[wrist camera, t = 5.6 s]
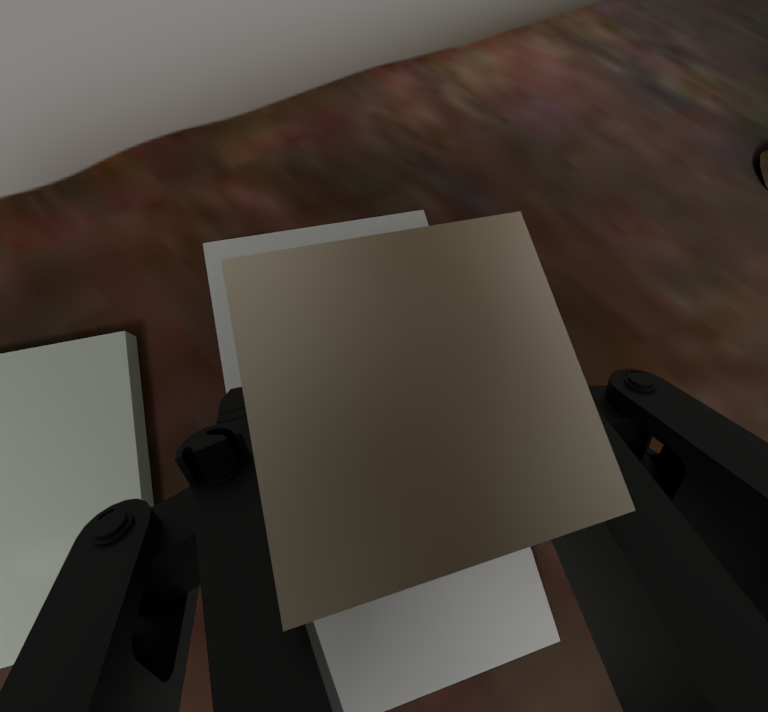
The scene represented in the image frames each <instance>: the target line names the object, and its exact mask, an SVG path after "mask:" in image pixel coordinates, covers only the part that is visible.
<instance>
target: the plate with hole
mask: <svg viewBox="0 0 768 712" xmlns="http://www.w3.org/2000/svg"><path fill="white" fill-rule="evenodd" d="M426 226H428V222H427V219H426V216H425V213H424V210H419V211H412V212H406V213H399V214H392V215H386V216H379V217H373V218H366V219H359V220H353V221H346V222H340V223H333V224H326V225H320V226H313V227H307V228H300V229H294V230H287V231H280V232H274V233H267V234H261V235H254V236H247V237H241V238H234V239H228V240H221V241H214V242H208V243H203V249H204V255H205V262H206V268H207V274H208V281H209V287H210V293H211V300H212V306H213V312H214V319H215V325H216V331H217V338H218V344H219V350H220V357H221V363H222V370H223V376H224V382H225V389H226V394H227V393H228V391H229V390H230V389H233V388H237V387H242V384H241V378H240V372H239V366H238V360H237V354H236V348H235V342H234V336H233V330H232V324H231V318H230V312H229V306H228V300H227V294H226V288H225V282H224V276H223V270H222V264H221V259H227V258H233V257H240V256H246V255H252V254H258V253H264V252H271V251H277V250H283V249H289V248H295V247H302V246H308V245H314V244H320V243H326V242H333V241H339V240H345V239H351V238H357V237H364V236H370V235H376V234H382V233H389V232H395V231H401V230H407V229H413V228H420V227H426ZM313 622H314V625H315V628H316V631H317V634H318V637H319V640H320V643H321V646H322V649H323V652H324V655H325V658H326V661H327V664H328V667H329V670H330V673H331V676H332V679H333V682H334V685H335V688H336V690H337V693H338V696H339V699H340V702H341V705H342V708H343V711H344V712H384V711H387V710H389V709H392V708H394V707H397V706H399V705H402V704H404V703H407V702H409V701H412V700H414V699H417V698H419V697H422V696H424V695H427V694H429V693H432V692H434V691H437V690H439V689H442V688H444V687H447V686H449V685H452V684H454V683H457V682H459V681H462V680H464V679H467V678H469V677H472V676H474V675H477V674H479V673H482V672H484V671H487V670H489V669H491V668H494V667H496V666H499V665H501V664H504V663H506V662H509V661H511V660H514V659H516V658H519V657H521V656H524V655H526V654H529V653H531V652H534V651H536V650H539V649H541V648H544V647H546V646H549V645H551V644H554V643H556V642H559V641H560V639H559V635H558V632H557V629H556V626H555V623H554V620H553V616H552V613H551V610H550V607H549V604H548V601H547V598H546V594H545V591H544V588H543V585H542V582H541V579H540V575H539V572H538V569H537V566H536V563H535V560H534V557H533V553H532V550H531V547H528V548H525V549H522V550H519V551H516V552H513V553H511V554H508V555H505V556H502V557H499V558H496V559H493V560H490V561H487V562H484V563H481V564H478V565H476V566H473V567H470V568H467V569H464V570H461V571H458V572H455V573H452V574H449V575H446V576H444V577H441V578H438V579H435V580H432V581H429V582H426V583H423V584H420V585H417V586H414V587H411V588H409V589H406V590H403V591H400V592H397V593H394V594H391V595H388V596H385V597H382V598H379V599H377V600H374V601H371V602H368V603H365V604H362V605H359V606H356V607H353V608H350V609H347V610H344V611H342V612H339V613H336V614H333V615H330V616H327V617H324V618H321V619H318V620H315V621H313Z"/></svg>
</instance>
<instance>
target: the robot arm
mask: <svg viewBox="0 0 768 712" xmlns="http://www.w3.org/2000/svg"><path fill="white" fill-rule="evenodd" d="M588 388H589V390H590V393H591V396H592V398H593V401H594V403H595V406H596V409H597V411H598V414H599V416H600V419H601V421H602V424H603V427H604V429H605V432H606V434H607V437H608V440H609V442H610V445H611V447H612V450H613V453H614V455H615V458H616V460H617V463H618V466H619V468H620V471H621V473H622V476H623V479H624V481H625V484H626V486H627V489H628V492H629V494H630V497H631V499H632V502H633V505H634V507H635V510H636V511H633V512H630V513H627V514H624V515H621V516H618V517H615V518H612V519H610V520H607V521H604V522H601V523H598V524H595V525H592V526H589V527H586V528H583V529H580V530H577V531H575V532H572V533H569V534H566V535H563V536H560V537H557V538H554V539H551V540H552V543H553V545H554V548H555V550H556V552H557V555H558V557H559V559H560V562H561V564H562V567H563V569H564V571H565V574H566V576H567V578H568V581H569V583H570V586H571V588H572V590H573V593H574V595H575V597H576V600H577V602H578V605H579V607H580V609H581V612H582V614H583V616H584V619H585V621H586V624H587V626H588V628H589V631H590V633H591V635H592V638H593V640H594V643H595V645H596V647H597V650H598V652H599V654H600V657H601V659H602V662H603V664H604V666H605V669H606V671H607V673H608V676H609V678H610V681H611V683H612V685H613V688H614V690H615V692H616V695H617V697H618V700H619V702H620V704H621V707H622V709H623V711H624V712H768V443H767V442H765V441H764V440H762V439H760V438H759V437H757V436H755V435H754V434H752V433H751V432H749V431H747V430H746V429H744V428H742V427H741V426H739V425H737V424H736V423H734V422H733V421H731V420H729V419H728V418H726V417H724V416H723V415H721V414H719V413H718V412H716V411H714V410H713V409H711V408H710V407H708V406H706V405H705V404H703V403H701V402H700V401H698V400H696V399H695V398H693V397H692V396H690V395H688V394H687V393H685V392H683V391H682V390H680V389H678V388H677V387H675V386H673V385H672V384H670V383H669V382H667V381H665V380H664V379H662V378H660V377H658V376H656V375H654V374H652V373H648V372H645V371H642V370H634V369H624V370H618V371H616V372H614V373H612V374H611V376H610V378H609V381H608V385H607V386H588ZM652 437H654V438H656V439H657V440H658V441H660V442H661V443H662V444H663V445H664V446H663V448H662V450H661V452H660V453H656V452H654V451H653V450H651V449H650V448H649V444H650V442H651V440H652ZM175 461H176V462H177V464H178V466H179V467H180V469H181V471H182V472H183V474H184V476H185V477H186V479H187V481H188V482H189V484H190V486H189V487H188V488H187V489H185V490H183V491H182V492H180V493H178V494H177V495H175V496H173V497H171V498H169V499H167V500H165V501H163V502H161V503H159V504H157V505H155V506H153V507H150V505H149V504H148V503H147V501H144V500H141V499H129V500H124V501H121V502H119V503H116V504H114V505H111V506H110V507H108V508H106V509H105V510H103V511H102V512H100V513H99V514H97V515H96V516H95V517H94V518H93V519H92V520H91V521H90V522H88V523H87V524H86V525H85V526H84V528H83V529H82V531H81V532H80V533H79V535H78V536H77V538H76V539H75V541H74V543H73V545H72V548H71V550H70V552H69V554H68V556H67V558H66V560H65V562H64V564H63V566H62V568H61V570H60V572H59V574H58V576H57V578H56V580H55V582H54V584H53V586H52V588H51V590H50V592H49V594H48V596H47V598H46V600H45V602H44V604H43V606H42V608H41V610H40V612H39V614H38V616H37V618H36V620H35V622H34V624H33V626H32V628H31V630H30V632H29V634H28V636H27V638H26V641H25V643H24V645H23V647H22V649H21V651H20V653H19V655H18V657H17V659H16V661H15V663H14V665H13V667H12V669H11V671H10V673H9V675H8V677H7V679H6V681H5V683H4V685H3V687H2V689H1V691H0V712H179V708H180V702H181V695H182V689H183V683H184V677H185V671H186V664H187V658H188V652H189V646H190V639H191V633H192V627H193V621H194V614H195V608H196V602H197V596H198V589H199V585H201V592H202V602H203V612H204V622H205V632H206V642H207V651H208V661H209V671H210V681H211V691H212V701H213V711H214V712H344V711H343V708H342V705H341V702H340V699H339V696H338V693H337V690H336V688H335V685H334V682H333V679H332V676H331V673H330V670H329V667H328V664H327V661H326V658H325V655H324V652H323V649H322V646H321V643H320V640H319V637H318V634H317V631H316V628H315V625H314V622H313V621H312V622H310V623H307V624H304V625H301V626H298V627H295V628H292V629H289V630H286V631H283V628H282V622H281V616H280V610H279V604H278V598H277V592H276V586H275V580H274V574H273V568H272V562H271V556H270V550H269V544H268V538H267V532H266V526H265V520H264V514H263V509H262V503H261V497H260V491H259V485H258V479H257V473H256V467H255V461H254V455H253V449H252V443H251V437H250V431H249V425H248V419H247V413H246V407H245V401H244V395H243V389H242V387H237V388H233V389H230V390H229V391H228V393H227V394H226V395H225V397H224V398H223V399H222V400H221V404H220V409H219V415H218V418H217V425H214V426H210V427H206V428H204V429H202V430H200V431H198V432H196V433H194V434H193V435H192V436H190V437H189V438H188V439H187V440H185V441H184V442H183V444H182V445H181V446H180V448H179V449H178V450H177V454H176V458H175Z"/></svg>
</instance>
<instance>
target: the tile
mask: <svg viewBox="0 0 768 712" xmlns="http://www.w3.org/2000/svg"><path fill="white" fill-rule="evenodd" d="M129 499H141V500H144V501H147V503H148V504H149V505H150V507H153V506H154V501H153V492H152V482H151V473H150V463H149V454H148V444H147V435H146V425H145V415H144V406H143V396H142V387H141V377H140V368H139V358H138V349H137V339H136V336H134V335H132V334H130V333H128V332H126V331H121V332H115V333H110V334H105V335H99V336H94V337H88V338H83V339H78V340H72V341H67V342H61V343H56V344H51V345H45V346H40V347H34V348H29V349H24V350H18V351H13V352H7V353H2V354H0V669H1V668H4V667H7V666H10V665H13V664H14V663H15V661H16V659H17V657H18V655H19V653H20V651H21V649H22V647H23V645H24V643H25V641H26V638H27V636H28V634H29V632H30V630H31V628H32V626H33V624H34V622H35V620H36V618H37V616H38V614H39V612H40V610H41V608H42V606H43V604H44V602H45V600H46V598H47V596H48V594H49V592H50V590H51V588H52V586H53V584H54V582H55V580H56V578H57V576H58V574H59V572H60V570H61V568H62V566H63V564H64V562H65V560H66V558H67V556H68V554H69V552H70V550H71V548H72V545H73V543H74V541H75V539H76V538H77V536H78V535H79V533H80V532H81V531H82V529H83V528H84V526H85V525H86V524H87V523H88V522H90V521H91V520H92V519H93V518H94V517H95V516H96V515H97V514H99V513H100V512H102V511H103V510H105V509H106V508H108V507H110V506H111V505H114V504H116V503H119V502H121V501H124V500H129Z"/></svg>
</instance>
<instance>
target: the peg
mask: <svg viewBox="0 0 768 712" xmlns="http://www.w3.org/2000/svg"><path fill="white" fill-rule="evenodd" d="M221 264H222V270H223V276H224V282H225V288H226V294H227V300H228V306H229V312H230V318H231V324H232V330H233V336H234V342H235V348H236V354H237V360H238V366H239V372H240V378H241V384H242V389H243V395H244V401H245V407H246V413H247V419H248V425H249V431H250V437H251V443H252V449H253V455H254V461H255V467H256V473H257V479H258V485H259V491H260V497H261V503H262V509H263V514H264V520H265V526H266V532H267V538H268V544H269V550H270V556H271V562H272V568H273V574H274V580H275V586H276V592H277V598H278V604H279V610H280V616H281V622H282V628H283V631H286V630H289V629H292V628H295V627H298V626H301V625H304V624H307V623H310V622H312V621H315V620H318V619H321V618H324V617H327V616H330V615H333V614H336V613H339V612H342V611H344V610H347V609H350V608H353V607H356V606H359V605H362V604H365V603H368V602H371V601H374V600H377V599H379V598H382V597H385V596H388V595H391V594H394V593H397V592H400V591H403V590H406V589H409V588H411V587H414V586H417V585H420V584H423V583H426V582H429V581H432V580H435V579H438V578H441V577H444V576H446V575H449V574H452V573H455V572H458V571H461V570H464V569H467V568H470V567H473V566H476V565H478V564H481V563H484V562H487V561H490V560H493V559H496V558H499V557H502V556H505V555H508V554H511V553H513V552H516V551H519V550H522V549H525V548H528V547H531V546H534V545H537V544H540V543H543V542H545V541H548V540H551V539H554V538H557V537H560V536H563V535H566V534H569V533H572V532H575V531H577V530H580V529H583V528H586V527H589V526H592V525H595V524H598V523H601V522H604V521H607V520H610V519H612V518H615V517H618V516H621V515H624V514H627V513H630V512H633V511H636V510H635V507H634V505H633V502H632V499H631V497H630V494H629V492H628V489H627V486H626V484H625V481H624V479H623V476H622V473H621V471H620V468H619V466H618V463H617V460H616V458H615V455H614V453H613V450H612V447H611V445H610V442H609V440H608V437H607V434H606V432H605V429H604V427H603V424H602V421H601V419H600V416H599V414H598V411H597V409H596V406H595V403H594V401H593V398H592V396H591V393H590V390H589V388H588V385H587V383H586V380H585V377H584V375H583V372H582V370H581V367H580V364H579V362H578V359H577V357H576V354H575V351H574V349H573V346H572V344H571V341H570V338H569V336H568V333H567V331H566V328H565V325H564V323H563V320H562V318H561V315H560V312H559V310H558V307H557V305H556V302H555V299H554V297H553V294H552V292H551V289H550V286H549V284H548V281H547V279H546V276H545V274H544V271H543V268H542V266H541V263H540V261H539V258H538V255H537V253H536V250H535V248H534V245H533V242H532V240H531V237H530V235H529V232H528V229H527V227H526V224H525V222H524V219H523V216H522V214H521V211H519V212H513V213H506V214H500V215H494V216H488V217H482V218H475V219H469V220H463V221H457V222H451V223H444V224H438V225H432V226H426V227H420V228H413V229H407V230H401V231H395V232H389V233H382V234H376V235H370V236H364V237H357V238H351V239H345V240H339V241H333V242H326V243H320V244H314V245H308V246H302V247H295V248H289V249H283V250H277V251H271V252H264V253H258V254H252V255H246V256H240V257H233V258H227V259H221Z"/></svg>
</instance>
